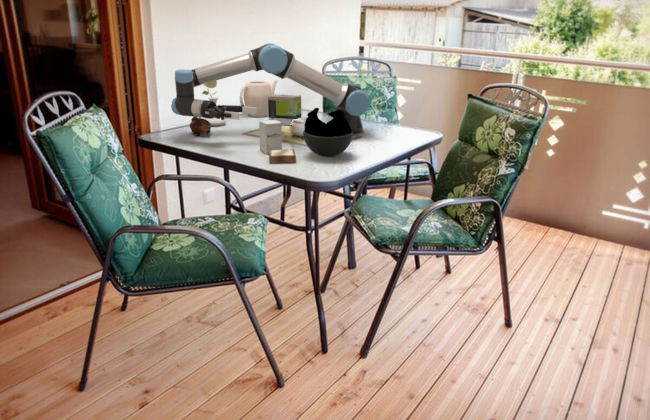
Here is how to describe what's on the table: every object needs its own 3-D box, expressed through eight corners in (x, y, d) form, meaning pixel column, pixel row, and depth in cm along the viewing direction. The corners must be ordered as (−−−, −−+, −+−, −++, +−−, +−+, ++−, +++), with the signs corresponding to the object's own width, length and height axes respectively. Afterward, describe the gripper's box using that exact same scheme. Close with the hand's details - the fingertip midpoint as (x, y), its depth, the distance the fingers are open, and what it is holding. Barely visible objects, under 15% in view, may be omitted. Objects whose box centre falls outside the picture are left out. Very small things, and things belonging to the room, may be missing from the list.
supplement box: (266, 154, 204) (265, 123, 199) (259, 150, 210) (258, 120, 205) (282, 152, 207) (282, 122, 202) (275, 148, 213) (275, 119, 208)
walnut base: (294, 156, 201) (293, 149, 200) (295, 163, 192) (295, 155, 191) (269, 157, 200) (268, 149, 199) (269, 163, 191) (269, 156, 189)
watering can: (286, 114, 287) (286, 81, 280) (249, 120, 270) (248, 84, 263) (269, 110, 297) (268, 78, 291) (232, 116, 280) (231, 82, 273)
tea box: (301, 123, 265) (301, 94, 260) (294, 126, 256) (294, 97, 251) (276, 120, 270) (275, 93, 264) (268, 124, 261) (267, 95, 255)
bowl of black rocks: (359, 160, 197) (361, 113, 190) (311, 164, 190) (312, 115, 183) (341, 148, 214) (342, 104, 207) (296, 152, 208) (296, 106, 201)
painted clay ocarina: (201, 130, 244) (201, 114, 241) (218, 138, 234) (218, 121, 231) (183, 132, 237) (183, 115, 234) (200, 140, 228) (200, 122, 225)
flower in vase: (230, 124, 259) (228, 75, 250) (215, 128, 250) (211, 77, 241) (212, 121, 265) (209, 73, 256) (196, 125, 256) (192, 75, 247)
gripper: (221, 113, 226) (262, 117, 218) (187, 122, 204) (231, 128, 197) (220, 96, 223) (262, 100, 216) (185, 104, 201) (230, 108, 194)
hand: (247, 113), depth 206 cm, fingers open, 13 cm apart
